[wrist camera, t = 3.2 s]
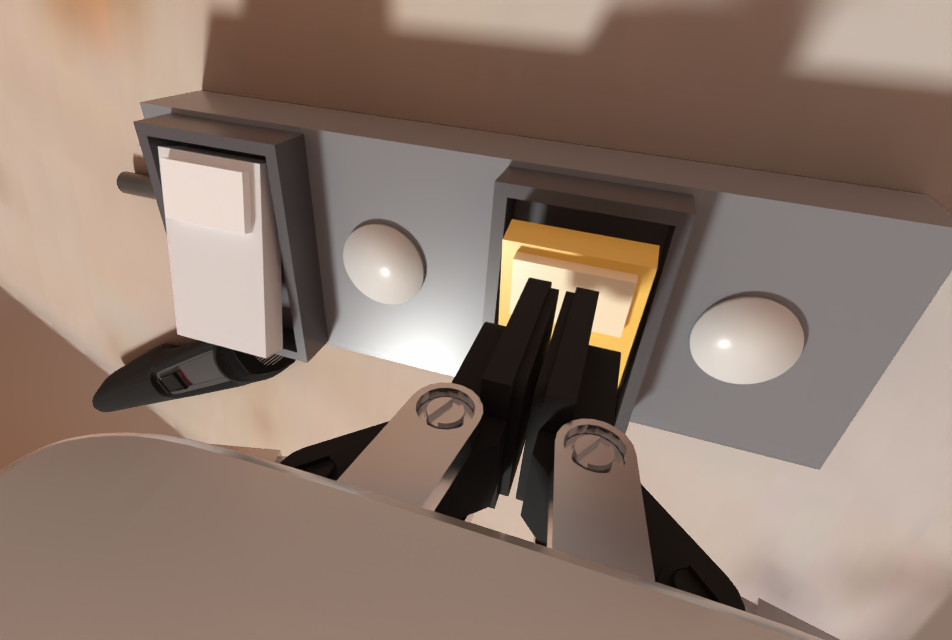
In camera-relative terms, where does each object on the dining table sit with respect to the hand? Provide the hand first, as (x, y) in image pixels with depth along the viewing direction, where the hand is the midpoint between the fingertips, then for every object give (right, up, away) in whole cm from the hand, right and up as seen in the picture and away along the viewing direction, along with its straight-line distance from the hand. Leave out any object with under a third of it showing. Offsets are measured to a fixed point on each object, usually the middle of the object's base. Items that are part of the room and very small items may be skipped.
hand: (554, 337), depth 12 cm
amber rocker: (+1, 0, +4) cm, 4 cm away
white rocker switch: (-11, +3, +6) cm, 13 cm away
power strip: (-3, +4, +9) cm, 10 cm away
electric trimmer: (-18, -2, +18) cm, 26 cm away
